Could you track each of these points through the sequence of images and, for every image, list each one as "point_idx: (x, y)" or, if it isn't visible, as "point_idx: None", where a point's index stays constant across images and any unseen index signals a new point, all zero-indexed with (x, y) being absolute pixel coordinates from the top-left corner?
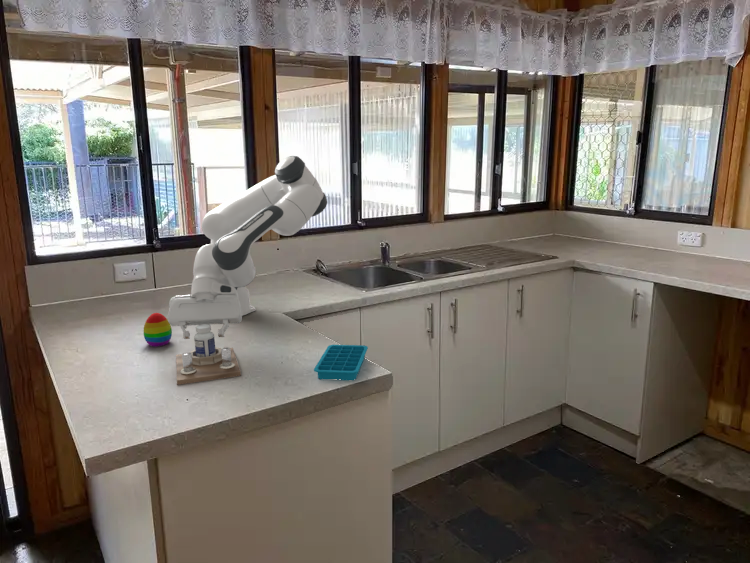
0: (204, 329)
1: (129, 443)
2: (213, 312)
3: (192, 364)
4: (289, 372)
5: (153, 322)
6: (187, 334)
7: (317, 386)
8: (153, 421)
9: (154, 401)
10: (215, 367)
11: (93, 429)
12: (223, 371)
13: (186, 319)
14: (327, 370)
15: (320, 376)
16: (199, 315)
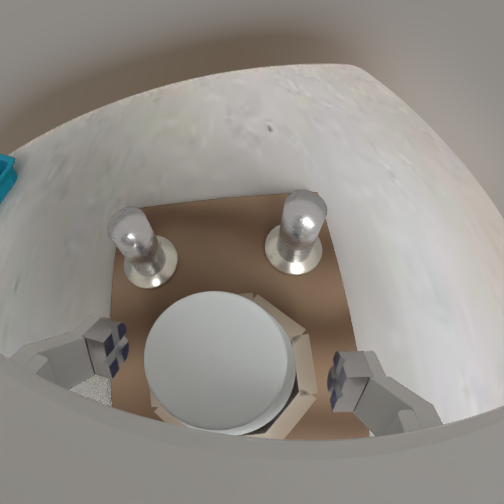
0: (203, 294)
1: (324, 67)
2: (49, 450)
3: (279, 233)
4: (31, 215)
5: None
6: (347, 355)
7: (36, 150)
8: (313, 89)
9: (341, 139)
10: (193, 265)
11: (391, 101)
12: (169, 221)
13: (408, 435)
14: (3, 159)
15: (14, 170)
16: (252, 478)
